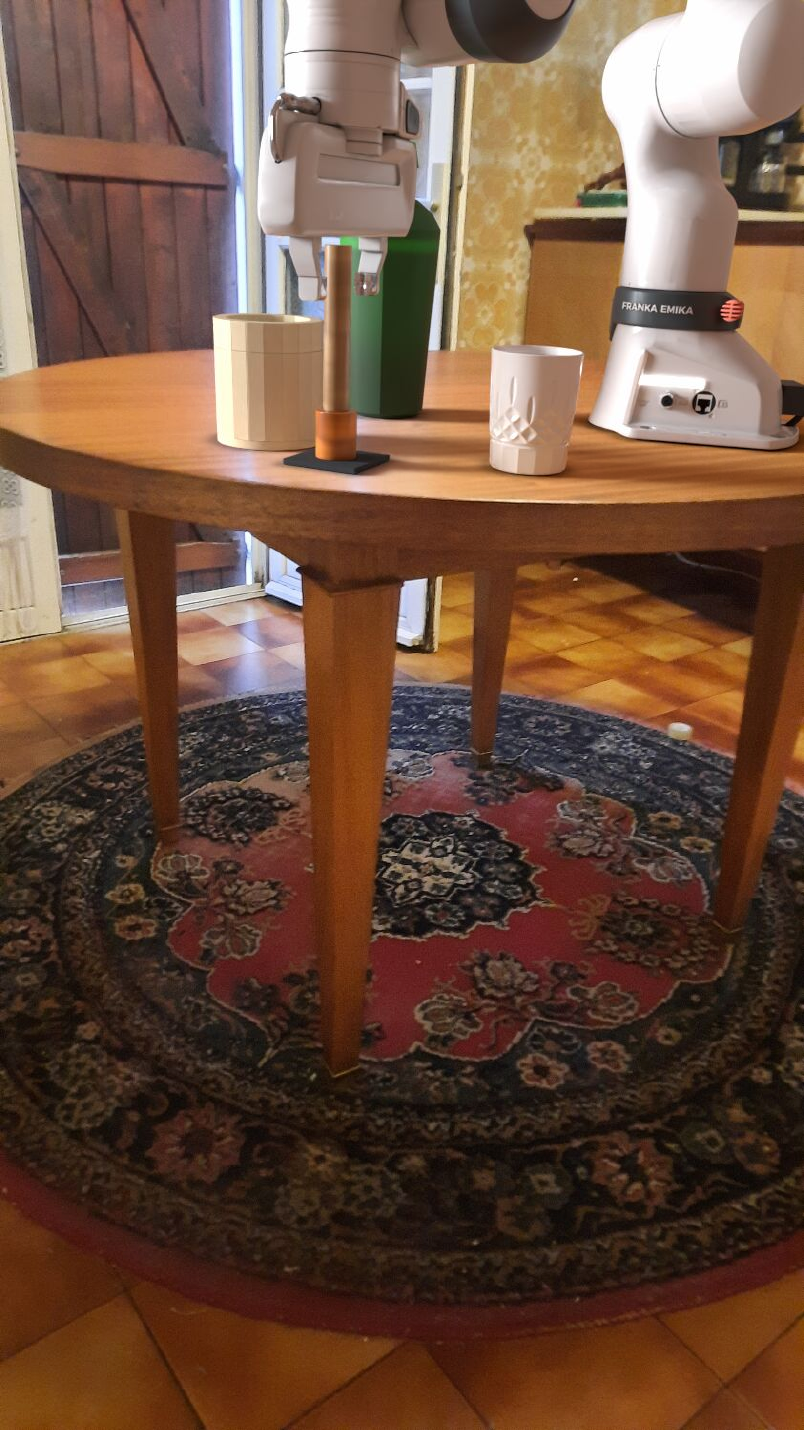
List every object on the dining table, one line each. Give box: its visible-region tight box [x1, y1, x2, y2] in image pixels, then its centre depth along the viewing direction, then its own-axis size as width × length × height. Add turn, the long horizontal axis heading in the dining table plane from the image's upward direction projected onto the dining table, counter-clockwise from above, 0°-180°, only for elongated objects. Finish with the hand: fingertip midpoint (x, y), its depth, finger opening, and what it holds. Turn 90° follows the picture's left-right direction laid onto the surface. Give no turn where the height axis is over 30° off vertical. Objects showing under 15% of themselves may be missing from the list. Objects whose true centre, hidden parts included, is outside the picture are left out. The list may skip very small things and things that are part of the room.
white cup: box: [489, 344, 585, 476], centre depth 89 cm, size 8×8×10 cm
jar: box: [212, 312, 324, 452], centre depth 96 cm, size 10×10×11 cm
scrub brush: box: [314, 244, 358, 461], centre depth 86 cm, size 4×4×17 cm
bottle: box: [339, 141, 442, 419], centre depth 109 cm, size 11×11×28 cm
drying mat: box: [282, 447, 391, 475], centre depth 90 cm, size 7×7×1 cm
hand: (340, 298), depth 84 cm, fingers open, 8 cm apart
